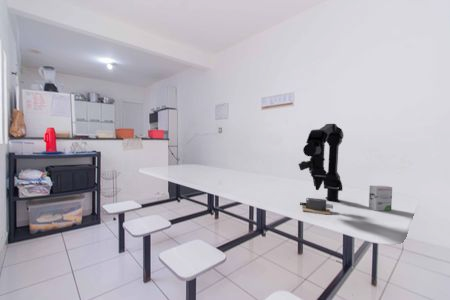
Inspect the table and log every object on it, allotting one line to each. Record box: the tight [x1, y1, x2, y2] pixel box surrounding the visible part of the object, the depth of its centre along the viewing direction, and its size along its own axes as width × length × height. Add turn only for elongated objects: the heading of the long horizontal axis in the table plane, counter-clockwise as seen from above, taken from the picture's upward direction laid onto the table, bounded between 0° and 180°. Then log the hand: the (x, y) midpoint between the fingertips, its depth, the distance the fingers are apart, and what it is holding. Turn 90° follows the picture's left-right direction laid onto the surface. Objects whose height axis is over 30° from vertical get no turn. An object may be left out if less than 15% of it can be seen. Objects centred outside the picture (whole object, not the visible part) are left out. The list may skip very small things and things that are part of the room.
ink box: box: [368, 185, 393, 212], centre depth 107 cm, size 9×5×12 cm, turn 96°
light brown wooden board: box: [301, 205, 332, 216], centre depth 104 cm, size 10×12×1 cm
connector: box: [299, 197, 334, 211], centre depth 104 cm, size 4×15×4 cm, turn 72°
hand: (316, 188), depth 103 cm, fingers open, 9 cm apart
